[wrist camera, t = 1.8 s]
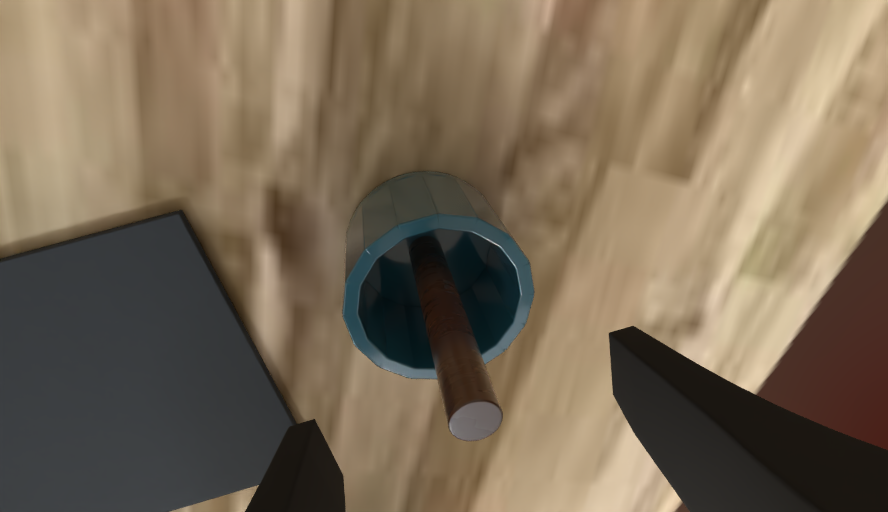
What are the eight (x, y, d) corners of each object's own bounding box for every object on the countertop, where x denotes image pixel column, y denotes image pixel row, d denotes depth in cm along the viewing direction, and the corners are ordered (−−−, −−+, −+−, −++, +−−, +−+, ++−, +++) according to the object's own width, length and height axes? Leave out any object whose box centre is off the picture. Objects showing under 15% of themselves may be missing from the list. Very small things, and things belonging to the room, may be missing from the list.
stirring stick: (444, 259, 19) (507, 432, 11) (413, 268, 19) (455, 448, 11) (437, 231, 19) (498, 393, 11) (405, 240, 19) (442, 410, 11)
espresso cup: (508, 286, 21) (544, 350, 17) (371, 325, 21) (375, 399, 17) (482, 151, 18) (519, 191, 14) (323, 195, 18) (314, 248, 14)
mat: (317, 461, 24) (316, 468, 23) (-129, 593, 23) (-137, 603, 22) (182, 209, 17) (178, 213, 17) (-456, 382, 16) (-475, 390, 16)
